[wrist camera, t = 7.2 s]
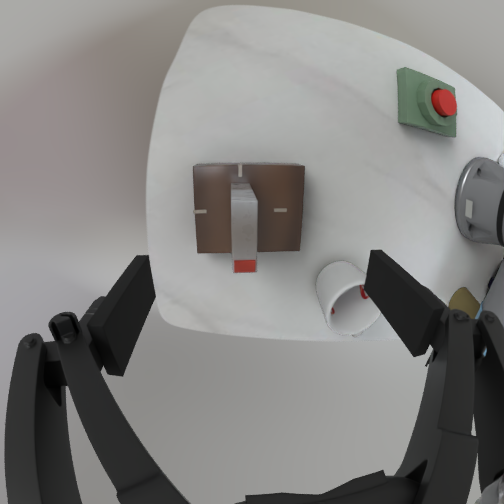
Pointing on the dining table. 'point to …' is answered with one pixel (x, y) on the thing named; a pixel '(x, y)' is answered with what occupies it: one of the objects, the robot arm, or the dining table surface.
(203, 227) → the tap panel
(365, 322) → the cup
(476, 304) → the pepper shaker
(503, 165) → the supplement bottle
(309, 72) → the dining table surface
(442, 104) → the button
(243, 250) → the gray rectangular block
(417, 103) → the button box
